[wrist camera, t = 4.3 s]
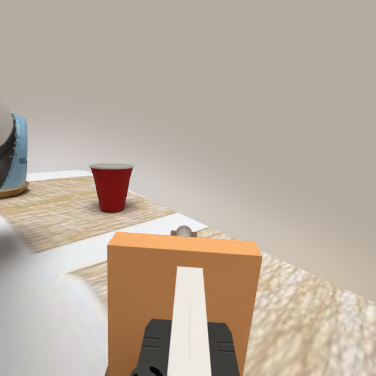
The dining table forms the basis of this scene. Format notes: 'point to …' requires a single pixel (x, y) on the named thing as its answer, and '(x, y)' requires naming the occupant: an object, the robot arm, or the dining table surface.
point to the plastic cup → (111, 184)
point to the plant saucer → (13, 191)
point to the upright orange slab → (165, 288)
